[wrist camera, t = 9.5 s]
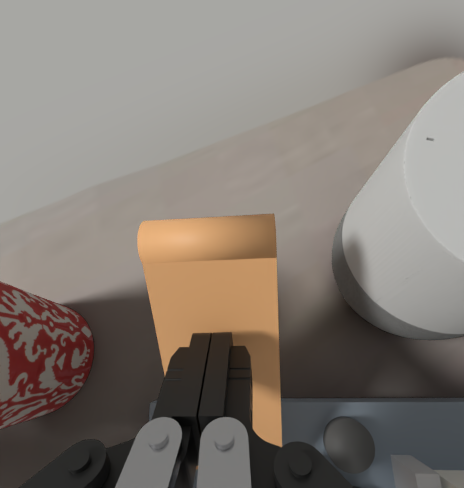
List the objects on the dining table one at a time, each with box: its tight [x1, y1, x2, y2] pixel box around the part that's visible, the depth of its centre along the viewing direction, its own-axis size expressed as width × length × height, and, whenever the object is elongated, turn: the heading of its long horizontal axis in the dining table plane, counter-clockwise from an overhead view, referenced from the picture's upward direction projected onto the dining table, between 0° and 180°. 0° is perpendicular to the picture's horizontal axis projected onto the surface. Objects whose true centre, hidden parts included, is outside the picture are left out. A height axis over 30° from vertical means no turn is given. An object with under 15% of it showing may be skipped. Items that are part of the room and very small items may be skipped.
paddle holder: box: [149, 398, 464, 488], centre depth 16 cm, size 21×7×5 cm, turn 91°
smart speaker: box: [332, 72, 464, 340], centre depth 16 cm, size 10×9×14 cm
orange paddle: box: [138, 214, 282, 469], centre depth 14 cm, size 5×2×13 cm
